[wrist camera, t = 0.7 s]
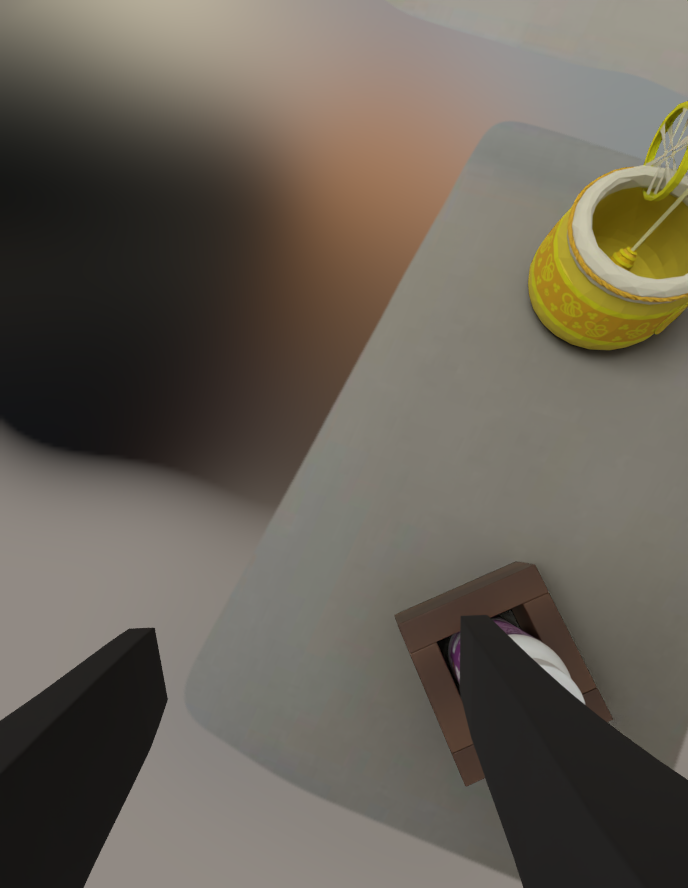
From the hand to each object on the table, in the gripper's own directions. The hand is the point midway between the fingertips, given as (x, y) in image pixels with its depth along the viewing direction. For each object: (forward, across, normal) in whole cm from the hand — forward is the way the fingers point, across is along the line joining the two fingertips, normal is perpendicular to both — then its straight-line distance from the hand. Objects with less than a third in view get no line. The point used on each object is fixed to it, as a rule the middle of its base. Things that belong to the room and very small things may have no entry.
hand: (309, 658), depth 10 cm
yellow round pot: (+28, -22, -10) cm, 37 cm away
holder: (+16, -10, +14) cm, 24 cm away
